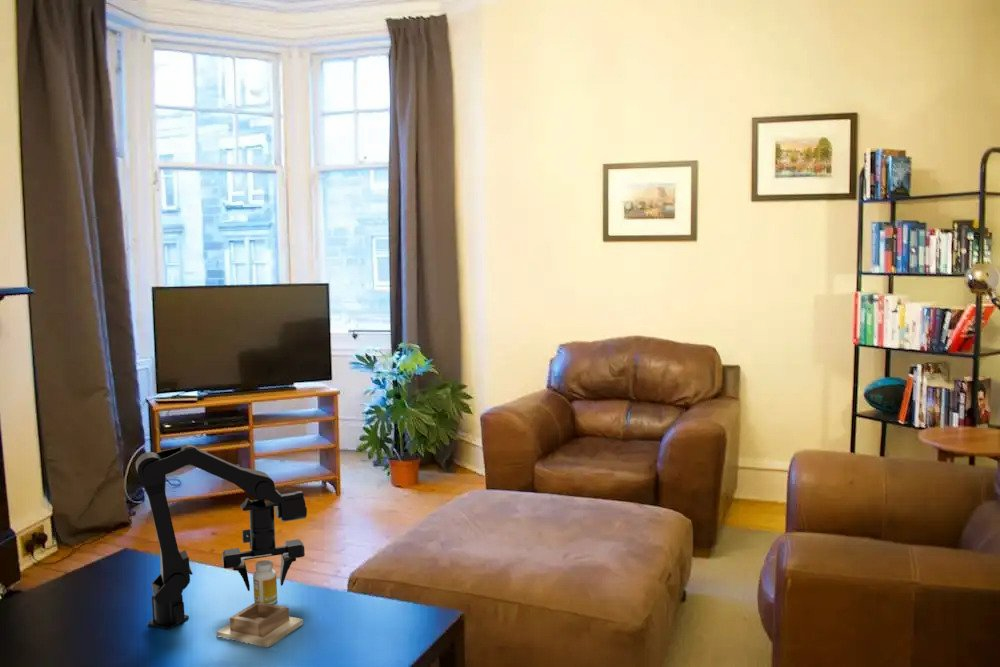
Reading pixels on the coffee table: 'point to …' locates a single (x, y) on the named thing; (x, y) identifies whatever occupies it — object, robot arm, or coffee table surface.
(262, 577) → the supplement bottle
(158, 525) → the robot arm
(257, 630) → the collar board
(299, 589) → the coffee table surface
